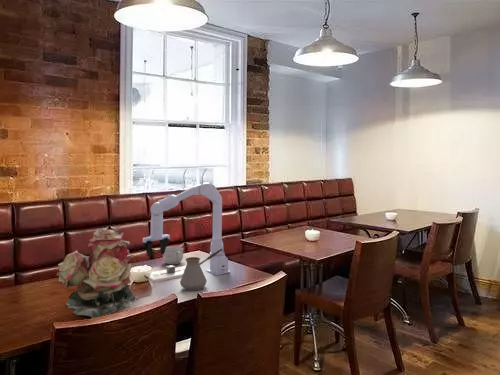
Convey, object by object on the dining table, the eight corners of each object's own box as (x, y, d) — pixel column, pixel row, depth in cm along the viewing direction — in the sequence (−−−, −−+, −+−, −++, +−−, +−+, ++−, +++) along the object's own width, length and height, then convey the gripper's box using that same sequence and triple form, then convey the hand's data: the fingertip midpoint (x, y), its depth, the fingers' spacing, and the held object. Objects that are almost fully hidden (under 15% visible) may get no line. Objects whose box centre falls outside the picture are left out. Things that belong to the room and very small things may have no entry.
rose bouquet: (51, 307, 158) (46, 230, 155) (122, 288, 178) (119, 220, 175) (78, 327, 140) (73, 240, 137) (153, 303, 160) (151, 227, 157)
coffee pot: (188, 294, 169) (187, 259, 168) (175, 287, 179) (174, 253, 177) (230, 284, 182) (230, 250, 181) (217, 277, 191) (216, 246, 190)
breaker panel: (197, 273, 198) (197, 271, 198) (153, 282, 185) (153, 279, 185) (186, 267, 208) (186, 265, 207) (144, 276, 195) (144, 273, 195)
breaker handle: (175, 272, 196) (174, 266, 196) (169, 273, 194) (169, 267, 194) (172, 270, 198) (172, 264, 198) (166, 271, 197) (166, 266, 196)
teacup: (160, 261, 220) (160, 247, 219) (180, 259, 224) (180, 244, 224) (167, 268, 207) (166, 252, 206) (187, 265, 212) (187, 250, 211)
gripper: (163, 224, 205) (163, 251, 206) (139, 227, 194) (138, 255, 195) (172, 226, 200) (171, 253, 201) (147, 230, 189) (147, 258, 190)
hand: (155, 255), depth 198 cm, fingers open, 7 cm apart
